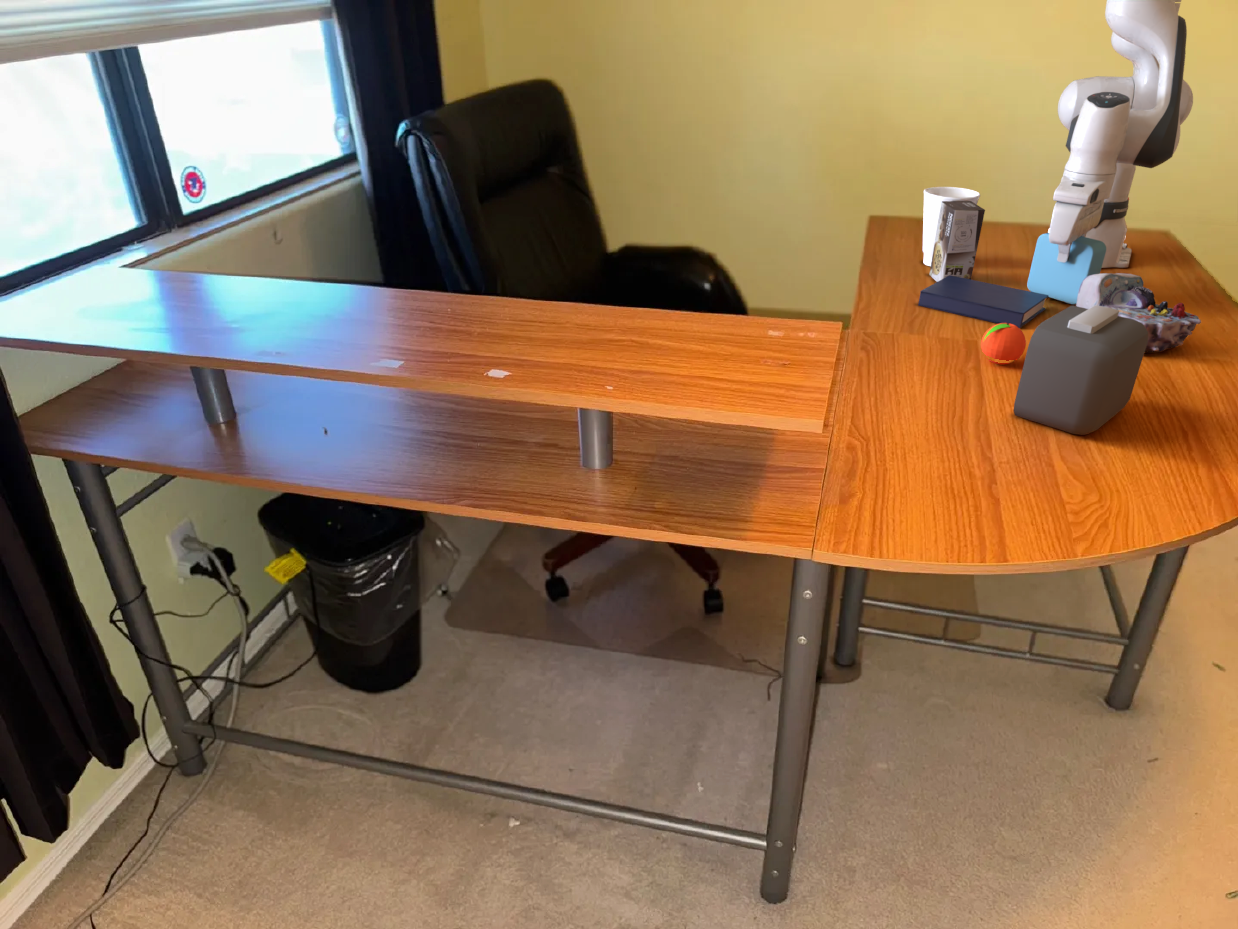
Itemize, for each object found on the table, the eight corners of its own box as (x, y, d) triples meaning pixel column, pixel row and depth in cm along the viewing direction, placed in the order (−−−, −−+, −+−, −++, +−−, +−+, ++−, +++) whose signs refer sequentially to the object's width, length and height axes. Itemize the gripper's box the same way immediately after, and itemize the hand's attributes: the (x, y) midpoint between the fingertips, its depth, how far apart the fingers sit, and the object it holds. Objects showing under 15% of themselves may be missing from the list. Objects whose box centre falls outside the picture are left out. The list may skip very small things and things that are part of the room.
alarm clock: (1055, 389, 140) (1080, 294, 132) (1131, 411, 133) (1162, 312, 125) (1010, 420, 130) (1034, 319, 122) (1089, 446, 123) (1120, 340, 115)
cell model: (1121, 261, 164) (1221, 294, 148) (1104, 316, 170) (1199, 354, 154) (1069, 268, 160) (1168, 304, 144) (1054, 325, 165) (1147, 365, 149)
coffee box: (971, 287, 186) (986, 209, 178) (940, 287, 186) (954, 209, 178) (957, 274, 194) (971, 199, 186) (928, 274, 194) (941, 199, 186)
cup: (908, 255, 207) (919, 185, 199) (960, 257, 206) (974, 187, 198) (916, 269, 197) (928, 196, 189) (971, 272, 195) (986, 198, 188)
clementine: (992, 374, 145) (1001, 333, 142) (963, 359, 151) (971, 319, 147) (1030, 367, 148) (1039, 327, 144) (1000, 353, 153) (1008, 314, 150)
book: (946, 289, 185) (949, 275, 183) (1045, 309, 173) (1048, 295, 172) (918, 305, 176) (920, 290, 174) (1019, 328, 164) (1023, 313, 163)
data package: (1092, 302, 175) (1109, 242, 169) (1079, 306, 173) (1095, 246, 167) (1038, 286, 183) (1052, 228, 177) (1024, 290, 181) (1038, 232, 175)
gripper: (1085, 174, 176) (1068, 243, 183) (1051, 192, 162) (1033, 266, 169) (1119, 179, 172) (1100, 249, 179) (1087, 198, 159) (1068, 272, 166)
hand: (1067, 257), depth 174 cm, fingers closed on data package, 5 cm apart
